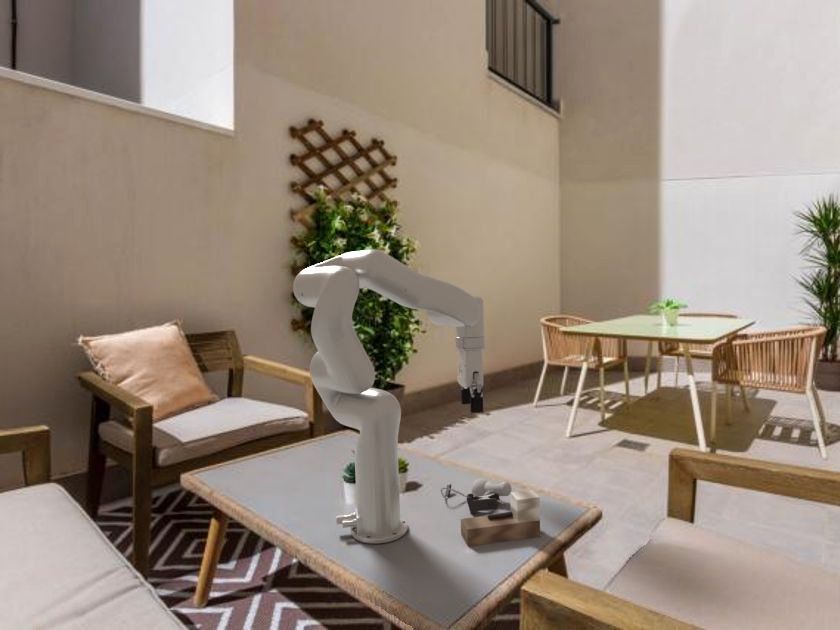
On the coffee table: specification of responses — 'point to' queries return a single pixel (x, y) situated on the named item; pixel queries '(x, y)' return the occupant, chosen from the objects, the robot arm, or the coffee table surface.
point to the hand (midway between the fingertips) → (471, 407)
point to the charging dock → (505, 522)
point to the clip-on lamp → (483, 495)
